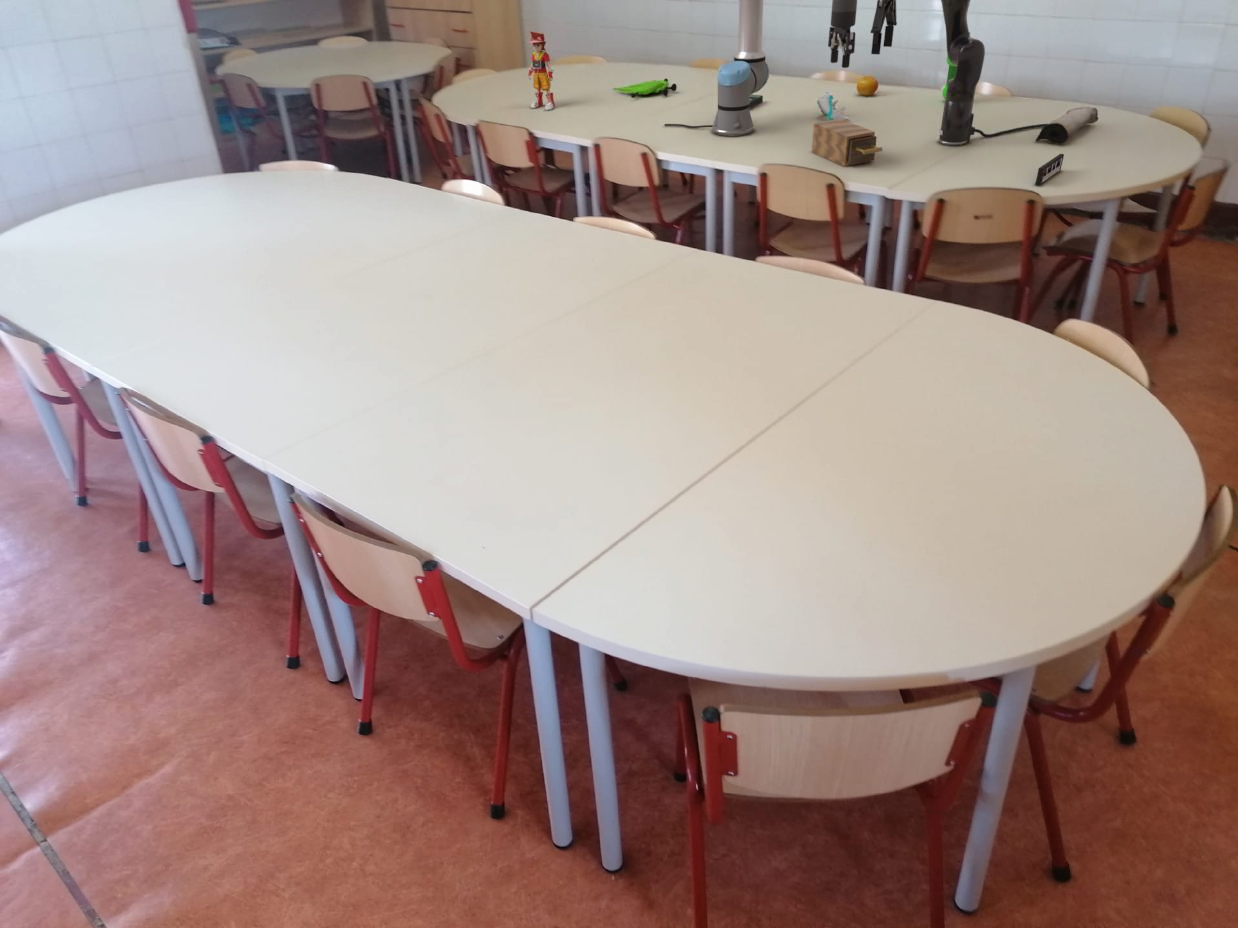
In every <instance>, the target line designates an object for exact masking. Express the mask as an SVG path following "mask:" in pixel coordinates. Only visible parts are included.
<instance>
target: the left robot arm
mask: <svg viewBox="0 0 1238 928" xmlns="http://www.w3.org/2000/svg"><path fill="white" fill-rule="evenodd" d="M738 5H739V7H738V47H737V48H738V49H737V51H736V52H735V54H734V56H733V61H730V62H726V63H723V64H721V65H720V67H719V68H718V70H717V111H716V114H715V118H714V120H713V124H707V125H705V124H704V125H688V124H682V123H664V127H684V128H689V129H702V128H712V133H713V134H715V135H717V136H721V137H741V136H746V135H750V134H752V133H754V127H755V126H754V122H753V118H752V115H751V111H750V109H749V97H750V95H754V94H755V93H757V92H759V91H761V90H762V89H763V88H764V87H765V86H766V84H767V83H768V81H769V77H770V68H769V65H768V63H767V62H766V53H765V52H764V50H762V48H763V23H764V20H763V19H764V0H739V4H738ZM873 17H874V18H873V22H872V26H871V30H870V34H872V43H871V53H870V54H871V55H880V54H881V46H882V36H883V32H882V30H883V27H884V23H885V22H886V25H885V28H884V37H883V47H885V48H886V47H887V48H891V47H892V46H893V39H894V28H895V26H898V22H897V0H877V1H876V9H875V12H874V16H873Z"/></svg>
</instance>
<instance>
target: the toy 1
mask: <svg viewBox="0 0 1238 928" xmlns="http://www.w3.org/2000/svg"><path fill="white" fill-rule="evenodd" d="M529 33H530V35H531V36H528V37H527V38H528V39H529V40H528V41H527V43H529V44H530V43H531V44H532V48H533V50H534V51H533V52H532V55H531V58H530V59H531V63H530V66H528V74H527V75H528V76H527V77H528V79H529V80H531V75H532V74H533V84H532V85H533V86H532V87H533V88H534V89H535V90H536V92H534V95H535V97H536V100H535V101H533V102H531V105H530V108H531V109H535V108H538V107H542V106H544V101H543V100H544V99H543V95H544V92H546V94H545V97H546V99H547V103H546V104H545V106H544V110H546V111H549V110H553V109H554V107H555V106H556V105H555V99H554V92H551V91H550V90H551V86H552V84H551V82H552V81H553V80H554V77H553V73H554V71H555V70H554V69H552V68H551V63H550V61H551V59H550V58H551V57H550V54H549V53H548V52H547V50H546V48H545V46H546V44H547V41H545V35H544V33H543V32H542V33H539V32H535V31H529Z"/></svg>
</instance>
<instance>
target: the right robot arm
mask: <svg viewBox="0 0 1238 928" xmlns="http://www.w3.org/2000/svg"><path fill="white" fill-rule="evenodd" d="M831 2H832V3H831V16H830V27H829V32H828V41H827V42H828V43H827V46H828V48H829V49H830V63H831V64H837V63H838V62H839V49H841V52H842V58H841V67H842V68H843V69H847V68H849V67H850V61H851V55H852V54H855V50H856V49H855V46H856V32H855V31H851V28H852V27H855V25H856V19H857V10H858V0H832V1H831ZM940 2H941V7H942V14H943V19H944V25H945V37H946V56H947V55H948V59H949V61H950V62H951V63H952V64H953V65H954V66H957V69H956V74H955V77H954V78H953V79H950V80H949V81H948V84H947V83H946V84H947V90H946V96H945V99H944V104H943V111H942V116H941V117H942V118H941V125H940V129H939V132H938V133H939V137H938V143H939V144H941V145H943V146H955V147H956V146H963V145H966V144H969V143H970V142H971V141H970V140H971V137H972V136H974V135H975V133H977V134H980V136H981V137H982V138H983V137H984V138H991V137H992V138H993V137H998V136H1001V135H1004V134H1010V133H1014V132H1018V131H1025V130H1029V129H1037V128H1043V127H1044V126H1045V125H1047V124H1049V123H1050V122H1049V123H1040V124H1032V125H1026V126H1020V127H1015V128H1011V129H1007V130H1001V131H998V132H995V133H984V131H983V130H981V129H978V128H976V127H975V126H973V123H974V117H975V114H974V113H973V107H974V102H975V95H976V89H977V85H978V84H979V81H980V80H981V76H982V71H983V66H984V63H985V56H986V49H985V48H986V47H985V44H984V42H983V41H981V40H980V39H978V38H974V37H971V33H970V34H969V32H970V31H969V25H968V12H969V8H970V4H971V0H940Z"/></svg>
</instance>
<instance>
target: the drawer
mask: <svg viewBox="0 0 1238 928" xmlns="http://www.w3.org/2000/svg"><path fill="white" fill-rule="evenodd" d="M877 137H878V136H876V135H874V136H871V137H869V136H865V137H859V138H854V139H849V150H848V160H847V161H848V164H850V165H849V166H852V165H851V164H855V165H857V164H856V163H860V164H863V163H862V162H865V163H868V162H867V161H871V162H872V161H875V155H876V153H879V152H883V147H882V146H877Z"/></svg>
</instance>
